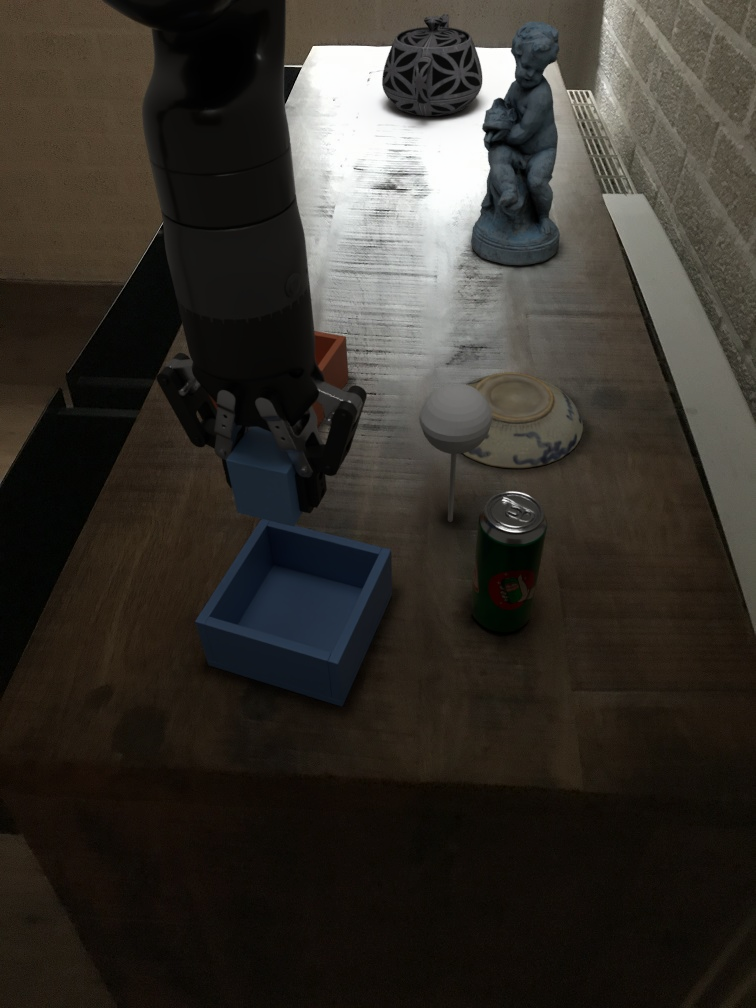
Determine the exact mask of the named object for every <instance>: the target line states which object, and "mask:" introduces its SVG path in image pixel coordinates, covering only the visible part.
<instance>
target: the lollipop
mask: <svg viewBox="0 0 756 1008" xmlns="http://www.w3.org/2000/svg"><path fill="white" fill-rule="evenodd" d="M466 384H467V383H461V382H452V383H446V384H443V385H441V386H438V388H436V389H435V390H433V391H432V392H431V393H430V394H429V395H428V396H427V397H426V399H425V401H424V402H423V404H422V406H421V408H420V410H419V411H420V412H419V417H418V419H419V425H420V427H421V431H422V433H423V435H424V437H425V438H426V441H428V443H429V444H430V445H431V446H432V447H434V448H435V449H437V450H438V451H440V452H443V453H445V454H450V465H449V467H450V469H449V470H450V471H449V485H448V486H449V487H448V489H449V490H448V506H447V508H448V509H447V522H450V523H451V522H453V520H454V519H453V518H454V504H455V503H454V502H455V485H456V469H457V455H460V454H463V453H466V452H469V451H471V450H473V449H474V448H476V447H477V446H479V445H480V444H481V443H482V442H483V440H484V439H485V438H486V436H487V434H488V432H489V430H490V427H491V424H492V410H491V408H490V405H489V404H488V402H487V401H486V399H485V397H484V396H483V395H482V394H481V393H480V392H479V391H478V390H477V389H475V388H473V387H471V386H469V385H466Z"/></svg>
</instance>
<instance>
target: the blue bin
mask: <svg viewBox="0 0 756 1008" xmlns="http://www.w3.org/2000/svg"><path fill="white" fill-rule="evenodd" d="M392 571H393V570H392V550H391V549H390V548H387V547H381V546H378V545H374V544H370V543H366V542H362V541H359V540H355V539H350V538H347V537H342V536H338V535H334V534H332V533H331V534H330V533H327V532H323V531H318V530H316V529H315V530H314V529H311V528H308V527H307V528H306V527H303V526H298V525H295V526H290V525H285V524H281V523H277V522H273V521H269V520H265V519H261V518H260V520H259V522H258V523H257V524H256V526H255V527H254V529H253V530H252V533H250V535H249V536H248V539H246V542H245V543H244V544H243V546H242V548H241V550H240V551H239V553H238V554H237V555H236V557H235V559H234V560H233V562H232V563H231V565H230V567H229V568H228V570H226V572H225V574H224V576H223V577H222V579H221V581H220V582H219V583H218V585H217V587H216V588H215V590H214V591H213V593H212V594H211V596H210V597H209V599H208V601H207V602H206V604H205V605H204V607H203V608H202V610H201V611H200V613H199V614H198V616H197V618H196V619H195V621H194V624H195V626H196V630H197V633H198V636H199V639H200V643H201V646H202V649H203V653H204V655H205V659H206V662H207V665H208V666H210V667H212V668H217V669H219V670H223V671H225V672H229V673H232V674H236V675H239V676H242V677H244V678H248V679H252V680H255V681H256V682H257V681H258V682H261V683H264V684H268V685H271V686H273V687H277V688H279V689H284V690H287V691H289V692H294V693H296V694H300V695H302V696H306V697H309V698H312V699H316V700H318V701H321V702H325V703H329V704H332V705H335V706H338V707H340V708H341V707H343V706H344V704H345V702H346V699H347V697H348V695H349V694H350V691H351V688H352V686H353V684H354V681H355V680H356V677H357V675H358V674H359V673H358V672H359V670H360V668H361V666H362V665H363V664H362V663H363V661H364V659H365V657H366V655H367V652H368V650H369V649H370V645H371V643H372V641H373V639H374V637H375V635H376V632H377V630H378V627H379V626H380V623H381V621H382V618H383V616H384V614H385V612H386V609H387V607H388V605H389V603H390V601H391V599H392V596H393V576H392V575H393V573H392Z"/></svg>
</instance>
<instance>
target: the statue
mask: <svg viewBox="0 0 756 1008" xmlns="http://www.w3.org/2000/svg"><path fill="white" fill-rule="evenodd" d="M559 35H560V33H559V31H558V29H557V28H556V27H554V26H552V25H551V24H547V23H545V22H543V21H527V22H525V23H523V25H522V26H521V27H520V28H518V29H517V30H516V32H515V35H514V37H513V38H512V41H511V48H510V53H511V55H512V56H513V57H514V61H515V69H514V79H515V80H514V81H512V82H511V83H510V86H509V88H508V90H507V92H506V94H505V95H504V98H503V97H497V98H495V99H493V101H492V104H491V107H490V108H488V109H486V110H485V115H484V119H483V123H482V127H481V129H482V131H483V132H484V133H485V134H484V137H483V139H482V140H483V146H484V148H485V150H486V151H487V162H488V165H489V171H488V174H487V178H486V193H485V195H484V196H483V197H484V198H483V199H482V201H481V203H480V207H481V208H480V210H479V212H480V215H479V217H478V219H477V220H476V221H475V222H474V225H473V226H472V231H471V241H470V243H471V247H472V250H473V251H474V252H475V253H476V254H477V256H479V257H480V258H482V259H485V260H487V261H489V262H494V263H498V264H502V265H508V266H528V265H529V266H530V265H533V264H538V263H543V262H545V261H547V260H549V259H551V258H552V257H553V256H554V255H555V254H556V253H557V252H558V250H559V243H560V238H561V237H560V236H561V233H560V232H561V231H560V229H559V227H558V226H557V225H556V222H554V221H553V220H552V219H551V218H550V212H551V208H552V205H553V200H554V191H553V189H552V187H551V185H550V182H551V181H552V180H553V173H554V171H555V170H554V169H555V165H556V161H557V155H558V154H557V152H558V140H559V134H558V133H559V132H558V129H557V128H558V127H557V124H556V119H555V110H554V97H553V91H552V87H551V85H550V83H549V81H548V79H547V77H545V76H544V72H545V70H546V68H547V67H548V66H549V65H551V64H553V63H555V62H557V60H558V54H559V51H560V43H559Z"/></svg>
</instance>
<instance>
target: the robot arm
mask: <svg viewBox="0 0 756 1008" xmlns="http://www.w3.org/2000/svg"><path fill="white" fill-rule="evenodd" d="M101 1H102V2H103V3H105V4H106V5H107V6H108V7H110V8H112V9H113V10H115V11H116V12H117V13H120V14H121V15H123V16H124V17H126V18H128V19H130V20H132V21H134V22H136V23H137V24H140V25H142V26H144V27H147V28H150V29H151V36H152V43H153V44H152V45H153V69H152V74H151V77H150V81H149V83H148V85H147V87H146V89H145V90H146V91H145V93H144V97H143V101H142V105H141V106H142V107H141V117H142V129H143V135H144V140H145V146H146V150H147V154H148V160H149V164H150V168H151V172H152V176H153V182H154V185H155V190H156V194H157V198H158V203H159V204H158V205H159V207H160V212H161V218H162V226H163V228H162V229H163V239H164V249H165V253H166V254H165V255H166V259H167V264H168V269H169V273H170V277H171V280H172V285H173V289H174V293H175V294H174V295H175V298H176V303H177V307H178V312H179V315H180V319H181V323H182V324H181V325H182V330H183V333H184V336H185V341H186V345H187V349H188V355H187V354H185V353H183V352H178V353H176V354H175V355H174V356H173V357H172V358H171V359H170V360H169V361H168V362H167V363H166V364H165V365H164V366H163V368H162V370H160V371H159V373H158V374H157V375H156V382H157V383H158V386H159V387H160V389H161V391H162V393H163V394H164V396H165V398H166V400H167V402H168V403H169V406H170V407H171V409H172V410H173V413H174V414H175V416H176V418H177V419H178V421H179V424H180V425H181V427H182V429H183V431H184V432H185V434H186V437H188V440H189V441H190V443H191V444H192V445H193V446H195V447H196V448H204V447H205V446H208V447H210V448H212V449H213V450H214V454H215V455H216V456H217V457H218V458H220V459H221V463H222V468H223V471H224V476H225V481H226V483H227V485H228V486H229V488H230V489H232V485H231V481H230V476H229V472H228V467H227V463H226V459H227V458H228V456H229V455H230V454H231V452H232V451H233V450H234V448H235V447H236V445H237V444H238V443H239V441H240V440H241V438H242V437H243V436H244V434H245V433H246V432H247V430H248V427H260V428H262V429H265V430H267V431H269V432H272V434H273V436H274V438H275V440H276V442H277V445H278V447H279V449H280V450H281V451H282V452H287V454H288V456H289V458H290V460H291V462H292V464H293V466H294V468H295V470H296V474H295V481H296V488H297V495H298V502H299V509H300V511H301V512H303V513H306V514H311V513H312V512H313V510H314V509H317V508H319V505H320V503H321V502H322V500H323V498H324V497H325V495H326V493H327V491H328V487H327V477H326V476H329V477H333V476H336V475H337V473H338V472H339V470H340V468H341V466H342V464H343V462H344V461H345V460H346V457H347V456H348V454H349V453H350V450H351V447H352V445H353V441H354V438H355V435H356V431H357V430H358V425H359V422H360V419H361V416H362V413H363V409H364V407H365V403H366V401H367V397H368V396H367V395H368V394H367V392H366V390H365V389H364V388H363V387H361V385H356V384H355V385H351V386H350V387H349V388H348V389H347V391H346V390H344V389H339V388H337V387H335V386H333V385H330V384H328V383H326V382H325V379H324V375H323V373H322V372H321V370H320V369H319V367H318V365H317V363H316V360H315V332H314V331H315V324H314V314H313V313H314V311H313V304H312V303H313V302H312V295H311V293H312V292H311V285H310V284H311V283H310V274H309V264H308V253H307V252H308V251H307V244H306V243H307V242H306V236H305V231H304V226H303V221H302V218H301V213H300V210H299V204H298V200H297V194H296V193H297V191H296V181H295V171H294V162H293V161H294V160H293V154H292V153H293V152H292V143H291V135H290V134H291V133H290V129H289V123H288V116H287V112H286V103H285V62H286V61H285V59H286V31H287V27H286V26H287V25H286V24H287V0H101ZM209 395H210V396H211V397H212V398H213V400H214V401H215V402H216V403H217V406H218V407H217V410H216V408H215V406H214V404H213V402H212V400H211V398H210V396H209ZM315 401H317V402H318V403H320V404H321V405H322V407H323V409H324V418H325V420H324V424H325V425H326V426H329V429H328V434H327V437H326V441H325V442H324V441H323V438H322V437H321V434H320V432H319V430H318V428H317V416H316V414H315V412H314V409H313V407H312V405H313V403H314V402H315ZM198 415H199V416H200V418H201V421H200V419H199V417H198Z"/></svg>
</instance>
